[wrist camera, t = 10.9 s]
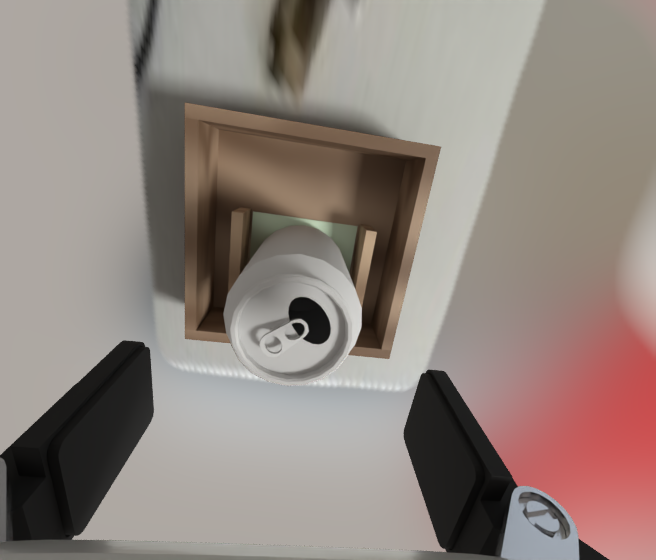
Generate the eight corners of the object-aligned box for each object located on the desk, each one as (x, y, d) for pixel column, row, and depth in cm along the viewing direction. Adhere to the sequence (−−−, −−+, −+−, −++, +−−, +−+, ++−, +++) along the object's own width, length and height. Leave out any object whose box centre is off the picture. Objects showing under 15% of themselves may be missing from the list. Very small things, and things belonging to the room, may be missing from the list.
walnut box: (210, 117, 23) (184, 102, 18) (415, 151, 25) (441, 146, 20) (205, 311, 28) (184, 338, 23) (376, 329, 30) (389, 358, 25)
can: (358, 282, 27) (392, 360, 16) (284, 320, 28) (267, 420, 17) (317, 206, 25) (322, 233, 13) (238, 250, 26) (181, 310, 14)
